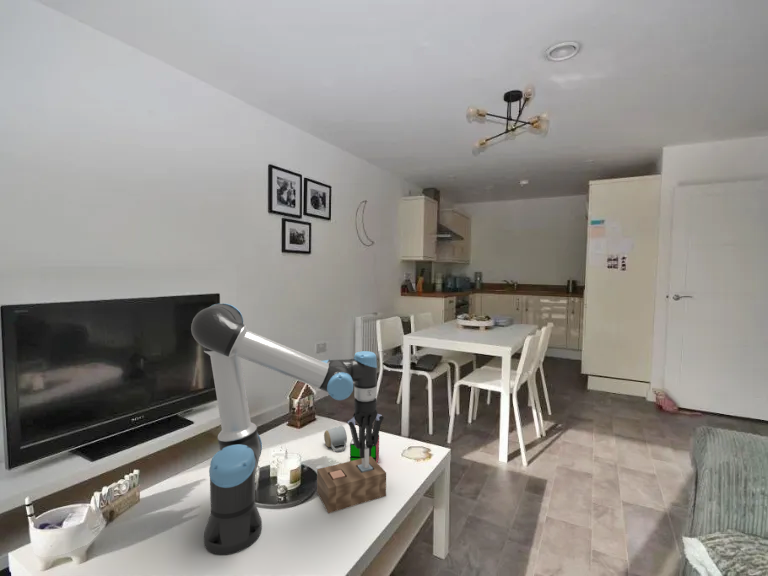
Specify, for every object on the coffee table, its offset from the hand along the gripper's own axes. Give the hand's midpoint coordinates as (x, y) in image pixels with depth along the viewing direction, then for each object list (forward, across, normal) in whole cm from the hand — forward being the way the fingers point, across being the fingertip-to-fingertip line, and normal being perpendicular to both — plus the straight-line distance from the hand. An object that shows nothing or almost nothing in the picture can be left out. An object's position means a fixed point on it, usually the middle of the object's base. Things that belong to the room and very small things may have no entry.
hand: (365, 465), depth 126 cm
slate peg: (+8, 0, 0) cm, 8 cm away
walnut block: (+9, -5, 0) cm, 10 cm away
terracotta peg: (+8, -10, 0) cm, 13 cm away
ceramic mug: (+9, +2, +34) cm, 35 cm away
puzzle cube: (+9, +7, +16) cm, 20 cm away
